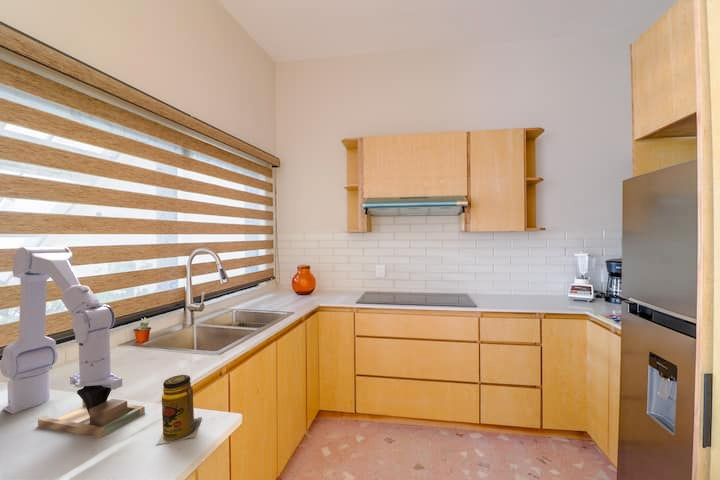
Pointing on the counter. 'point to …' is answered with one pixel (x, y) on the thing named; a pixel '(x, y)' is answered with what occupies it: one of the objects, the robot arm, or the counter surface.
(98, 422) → the walnut block
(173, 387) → the condiment
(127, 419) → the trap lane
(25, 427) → the counter surface
